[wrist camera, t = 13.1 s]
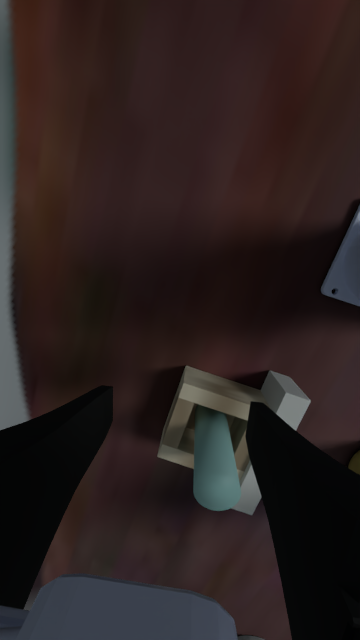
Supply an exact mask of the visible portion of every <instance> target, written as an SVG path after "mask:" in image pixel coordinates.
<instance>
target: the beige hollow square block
mask: <svg viewBox="0 0 360 640" xmlns="http://www.w3.org/2000/svg"><path fill="white" fill-rule="evenodd" d="M251 401H253V402H262V403H264V404H265V405H267V406H268V407H269V405H268V403H267V401H266V400H265V398H264V396H263V394H262V392H261V390H258V389H255V388H252V387H249V386H246V385H243V384H240V383H237V382H234V381H231V380H228V379H225V378H222V377H219V376H216V375H213V374H210V373H207V372H204V371H201V370H198V369H195V368H192V367H189V366H185V369H184V372H183V375H182V378H181V380H180V383H179V386H178V389H177V392H176V395H175V397H174V400H173V403H172V406H171V409H170V412H169V414H168V417H167V420H166V423H165V426H164V429H163V433H162V437H161V442H160V447H159V451H158V456H157V457H160V458H163V459H166V460H169V461H172V462H175V463H178V464H181V465H183V466H186V467H189V468H192V469H194V437H195V409H196V407H197V405H198V404H199V405H202V406H205V407H208V408H211V409H214V410H217V411H220V412H223V413H226V416H227V422H228V427H229V432H230V437H231V442H232V447H233V452H234V457H235V462H236V468H237V473H238V478H239V482H240V480H241V478H242V476H243V473H244V471H245V469H246V467H247V465H248V463H249V461H250V458H249V454H248V449H247V443H246V437H245V435H246V428H247V422H248V415H249V409H250V402H251ZM269 408H270V407H269Z"/></svg>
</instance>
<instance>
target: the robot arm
mask: <svg viewBox="0 0 360 640" xmlns="http://www.w3.org/2000/svg"><path fill="white" fill-rule="evenodd" d="M333 289H335V293H334V294H332V290H333ZM321 293H322V294H323V295H326V296H329V297H332V298H335V299H338V300H341V301H344V302H347V303H350V304H353V305H356V306H359V307H360V205H359V207H358V209H357V211H356V214H355V216H354V218H353V220H352V222H351V224H350V226H349V229H348V231H347V233H346V235H345V237H344V239H343V242H342V244H341V246H340V248H339V250H338V252H337V254H336V257H335V259H334V261H333V263H332V265H331V267H330V269H329V272H328V274H327V276H326V278H325V280H324V282H323V285H322V287H321ZM112 421H113V387H112V386H99V387H97V388H95V389H93V390H91V391H89V392H88V393H86V394H84V395H82V396H80V397H78V398H76V399H75V400H73V401H71V402H69V403H67V404H65V405H63V406H61V407H59V408H57V409H55V410H53V411H50V412H48V413H46V414H44V415H41V416H39V417H37V418H34V419H32V420H29V421H27V422H24V423H21V424H18V425H15V426H12V427H9V428H6V429H3V430H0V640H238V637H237V632H236V627H235V622H234V619H233V618H232V617H231V615H230V614H229V613H228V612H227V611H226V610H225V609H224V608H223V607H222V606H221V605H220V604H219V603H218V602H217V601H216V600H215V599H213V598H210V597H208V596H205V595H202V594H199V593H196V592H194V591H190V590H184V589H178V588H172V587H165V586H159V585H153V584H147V583H140V582H134V581H128V580H122V579H115V578H109V577H103V576H97V575H90V574H63V575H61V576H59V577H58V578H56V579H54V580H53V581H51V582H50V583H48V584H46V585H45V586H43V587H42V588H41V589H40V591H39V593H38V595H37V597H36V600H35V601H34V604H33V605H32V607H31V610H30V611H28V610H23V609H24V607H25V604H26V602H27V599H28V597H29V594H30V592H31V589H32V587H33V584H34V582H35V579H36V577H37V575H38V572H39V570H40V568H41V565H42V563H43V561H44V558H45V556H46V554H47V551H48V549H49V547H50V544H51V542H52V540H53V538H54V535H55V533H56V531H57V529H58V526H59V524H60V522H61V520H62V518H63V515H64V513H65V511H66V509H67V507H68V505H69V503H70V501H71V498H72V496H73V494H74V492H75V490H76V488H77V486H78V485H79V483H80V481H81V479H82V478H83V476H84V474H85V472H86V471H87V469H88V467H89V466H90V464H91V462H92V460H93V459H94V457H95V455H96V454H97V452H98V450H99V448H100V447H101V445H102V443H103V441H104V440H105V438H106V435H107V433H108V431H109V428H110V426H111V423H112ZM245 437H246V443H247V449H248V454H249V458H250V461H251V465H252V468H253V471H254V474H255V477H256V481H257V484H258V487H259V490H260V493H261V496H262V500H263V503H264V506H265V510H266V513H267V517H268V521H269V525H270V530H271V534H272V539H273V543H274V548H275V553H276V558H277V562H278V567H279V572H280V577H281V582H282V587H283V592H284V598H285V603H286V608H287V614H288V619H289V624H290V630H291V636H292V640H360V475H359V474H357V473H356V472H354V471H352V470H351V469H349V468H347V467H346V466H344V465H342V464H341V463H339V462H338V461H336V460H335V459H333V458H332V457H330V456H329V455H327V454H326V453H324V452H323V451H321V450H320V449H319V448H317V447H316V446H314V445H313V444H312V443H310V442H309V441H308V440H307V439H305V438H304V437H303V436H301V435H300V434H299V433H298V432H297V431H295V430H294V429H293V428H292V427H291V426H289V425H288V424H287V423H286V422H285V421H284V420H283V419H281V418H280V417H279V416H278V415H277V414H276V413H275V412H274V411H272V410H271V409H270V408H269V407H268V406H267V405H265V404H264V403H262V402H253V401H251V402H250V409H249V415H248V422H247V428H246V435H245Z"/></svg>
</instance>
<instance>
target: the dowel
mask: <svg viewBox="0 0 360 640" xmlns="http://www.w3.org/2000/svg"><path fill="white" fill-rule="evenodd" d="M193 493H194V496H195V498H196V500H197V501H198V503H199V504H201V505H202V506H203V507H205V508H207V509H210V510H215V511H223V510H227V509H230V508H232V507H233V506H235V505H236V504H237V503H238V501H239V500H240V497H241V488H240V483H239V478H238V473H237V468H236V462H235V457H234V452H233V447H232V442H231V437H230V432H229V427H228V422H227V416H226V413H223V412H220V411H217V410H214V409H211V408H208V407H205V406H202V405H199V404H198V405H197V407H196V409H195V437H194V484H193Z"/></svg>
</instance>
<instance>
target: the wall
mask: <svg viewBox="0 0 360 640" xmlns="http://www.w3.org/2000/svg"><path fill="white" fill-rule="evenodd" d="M261 392H262V394H263V396H264V398H265V400H266V401H267V403H268V405H269V407H270V409H271V410H272V411H274V412H275V413H276V414H277V415H278V416H279V417H280V418H281V419H283V420H284V421H285V422H286V423H287V424H288V425H289V426H291V427H292V428H293V429H294V430H295V431H296V429H297V427H298V425H299V423H300V421H301V419H302V417H303V415H304V414H305V412H306V410H307V408H308V406H309V404H310V402H311V400H310V399H309V398H308V397H307V396H306V395H305V394H304V392H303V391H302V390H301V389H300V388H299V387H298V386H297V385H296V384H295V382H294V381H293V380H292V379H291V378H290V377H288V376H285V375H282V374H279V373H276V372H273V371H270V370H269V373H268V375H267V377H266V379H265V381H264V384H263V386H262V388H261ZM239 483H240V488H241V497H240V500H239V501H238V503H237V504H236V505H235V506H233V507H232V509H235V510H238V511H241V512H244V513H247V514H249V515H253V513H254V511H255V509H256V507H257V505H258V503H259V501H260V499H261V497H262V496H261V493H260V490H259V487H258V484H257V481H256V477H255V474H254V471H253V468H252V465H251V461H249V463H248V465H247V467H246V469H245V471H244V473H243V476H242V478H241V480H240V482H239Z"/></svg>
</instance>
